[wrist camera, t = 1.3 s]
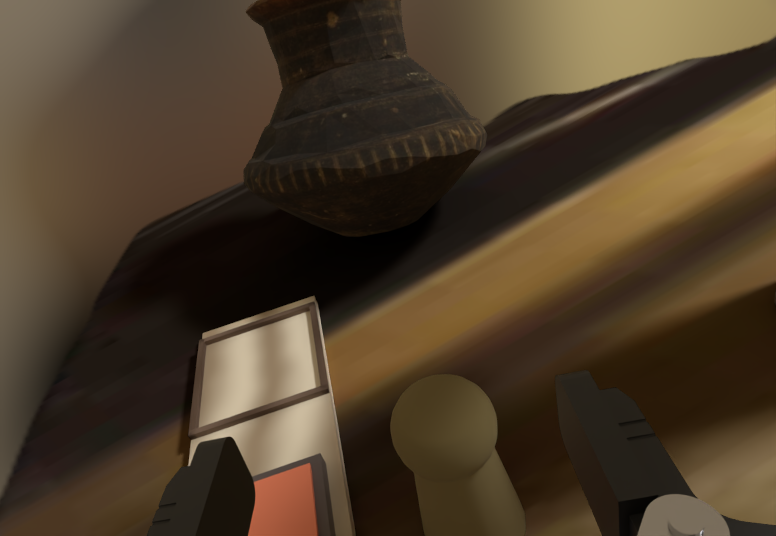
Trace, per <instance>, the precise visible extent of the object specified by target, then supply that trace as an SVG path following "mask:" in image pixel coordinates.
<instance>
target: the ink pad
mask: <svg viewBox="0 0 776 536" xmlns="http://www.w3.org/2000/svg"><path fill="white" fill-rule="evenodd" d="M252 478H253V481H254V485H255V505H254V510H253V515H252V520H251V524H250V529H249V534H248V536H336V534H335V527H334V519H333V512H332V504H331V497H330V489H329V482H328V474H327V467H326V462H325V461H324V459H323V457H322V455H321V453H319V454H316V455H313V456H310V457H307V458H304V459H301V460H299V461H296V462H293V463H290V464H287V465H284V466H281V467H278V468H275V469H272V470H270V471H267V472H264V473H261V474H258V475H255V476H252Z"/></svg>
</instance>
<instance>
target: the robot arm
mask: <svg viewBox="0 0 776 536" xmlns="http://www.w3.org/2000/svg"><path fill="white" fill-rule="evenodd" d="M775 305H776V291H775ZM555 387H556V397H557V408H558V419H559V426H560V431H561V435H562V439H563V442H564V445H565V448H566V451H567V453H568V455H569V458H570V460H571V462H572V465H573V467H574V470H575V472H576V474H577V477H578V479H579V481H580V484H581V486H582V489H583V491H584V493H585V496H586V498H587V500H588V503H589V505H590V508H591V510H592V512H593V515H594V517H595V519H596V522H597V524H598V527H599V529H600V531H601V534H602V536H776V525H768V524H760V523H752V522H744V521H739V520H735V519H731V518H728V517H726V516H723V515H721V514H719V513H718V512H717V511H716V510H715V509H714V508H713V507H711V506H710V505H709V504H707V503H705V502H703V501H701V500H699V499H698V498H697V497H696V496H695V495H694V494H693V492H692V491H691V490H690V488H689V486H688V485H687V483H686V482H685V480H684V479H683V477H682V475H681V474H680V472H679V471H678V469H677V467H676V466H675V464H674V463H673V461H672V460H671V458H670V456H669V455H668V453H667V452H666V450H665V448H664V447H663V445H662V444H661V442H660V441H659V439H658V437H656V436H655V433H654V431H653V429H652V428H651V426H650V425H649V423H648V422H646V418H645V417H644V415H643V414H642V412H641V410H640V409H639V407H638V406H637V404H636V403H635V401H634V400H633V399H631V398H630V397H628V396H627V395H626V394H624V393H623V392H622V391H620V390H619V389H617V388H616V387H615V388H610V389H604V390H599V388H598V386H597V385H596V383H595V381H594V379H593V378H592V376H591V374H590V373H589V371H588V370H583V371H577V372H572V373H567V374H562V375H556V376H555ZM254 505H255V485H254V481H253V478H252V475H251V473H250V471H249V469H248V467H247V465H246V463H245V461H244V459H243V457H242V455H241V452H240V450H239V448H238V446H237V444H236V442H235V440H234V439H233V438H232V437H224V438H218V439H213V440H208V441H203V442H200V443H199V444H198V445H197V448H196V450H195V453H194V456H193V458H192V461H191V464H190V466H186V467H181V468H180V469H179V471H178V472H177V473H176V475H175V476H174V477H173V478H172V480H171V481H170V482H169V483H168V485H167V486H166V488H165V491H164V493H163V496H162V498H161V501H160V503H159V509H158V510H157V511H156V514H155V516H154V519H153V521H152V523H153V525H152V526H150V529H149V531H148V534H147V536H248V534H249V529H250V524H251V520H252V515H253V510H254Z"/></svg>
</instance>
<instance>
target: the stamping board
mask: <svg viewBox="0 0 776 536" xmlns="http://www.w3.org/2000/svg"><path fill="white" fill-rule="evenodd" d="M188 437H189V438H190V439H191V446H190V455H189V465H188V466H190V464H191V461H192V458H193V456H194V453H195V450H196V448H197V445H198V444H199V443H200V442H203V441H208V440H213V439H218V438H224V437H232V438H233V439H234V440H235V442H236V444H237V446H238V448H239V450H240V452H241V455H242V457H243V459H244V461H245V463H246V465H247V467H248V469H249V471H250V473H251V475H252V476H255V475H258V474H261V473H264V472H267V471H270V470H272V469H275V468H278V467H281V466H284V465H287V464H290V463H293V462H296V461H299V460H301V459H304V458H307V457H310V456H313V455H316V454H319V453H321V455H322V457H323V459H324V461H325V462H326V467H327V474H328V482H329V489H330V497H331V504H332V512H333V519H334V527H335V534H336V536H356V533H355V527H354V521H353V514H352V508H351V502H350V496H349V490H348V484H347V478H346V472H345V466H344V460H343V454H342V448H341V442H340V436H339V430H338V424H337V417H336V411H335V405H334V399H333V393H332V387H331V381H330V375H329V369H328V363H327V357H326V351H325V345H324V339H323V333H322V327H321V320H320V314H319V308H318V303H317V301H316V298H315V296H312V297H309V298H306V299H303V300H300V301H297V302H294V303H291V304H288V305H285V306H282V307H279V308H276V309H273V310H270V311H267V312H264V313H261V314H258V315H255V316H252V317H250V318H247V319H244V320H241V321H238V322H235V323H232V324H229V325H226V326H223V327H220V328H217V329H214V330H211V331H208V332H205V333H203V337H202V339H201V340H199V346H198V355H197V364H196V372H195V381H194V390H193V398H192V407H191V416H190V424H189V433H188Z"/></svg>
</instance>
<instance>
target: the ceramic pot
mask: <svg viewBox="0 0 776 536" xmlns="http://www.w3.org/2000/svg"><path fill="white" fill-rule="evenodd" d="M400 1H401V0H258V1H256V2H254V3H253V4H251V5H250V6H249V7H248V9H247V10H246V13H247V14H248V16H249V17H250V18H251V19H252V20H253V21H255V22H256V23H258V24H259V25H261V26H262V27H263V28H264V30H265V33H266V36H267V39H268V41H269V44H270V47H271V49H272V52H273V54H274V57H275V59H276V61H277V64H278V69H279V74H280V79H281V83H282V87H283V89H282V91H281V94H280V97H279V99H278V102H277V105H276V108H275V110H274V113H273V115H272V118H271V121H270V124H269V125H268V126H266V127H265V129H264V131H263V133H262V135H261V137H260V140H259V142H258V145H257V147H256V149H255V152H254V154H253V157H252V159H251V160H250V161H249V162H248V164H247V165H246V167H245V169H244V184H245V185H246V186H247V188H248V189H249V190H250V191H251V192H252V193H254V194H256V195H257V196H259V197H261V198H262V199H264V200H265V201H267V202H269V203H270V204H272V205H274V206H275V207H277V208H279V209H281V210H283V211H285V212H287V213H290V214H292V215H294V216H296V217H298V218H300V219H302V220H304V221H306V222H308V223H310V224H313V225H316V226H318V227H321V228H324V229H326V230H329V231H332V232H335V233H337V234H340V235H343V236H345V237H362V236H367V235H372V234H378V233H383V232H388V231H392V230H395V229H398V228H401V227H404V226H407V225H409V224H411V223H413V222H415V221H417V220H418V219H420V218H421V217H422V216H423V215H424V214H425V213H426V212H427V211H428V210H429V209H430V208H431V207H432V206H433V205H434V204H435V203H436V202H437V201H438V200H439V199H441V198H442V197H443V196H444V195H445V194H446V193H447V192H448V191H449V190H450V189H451V188H452V186H453V185H454V184H455V183H456V182H457V180H458V179H459V178H460V177H461V175H462V174H463V173H464V172H465V170H466V169H467V168H468V167H469V165H470V164H471V163H472V162H473V161H474V159H475V158H476V157H477V156H478V154H479V153H480V152H481V151H482V149H483V148H484V147H485V144H486V138H487V133H486V132H485V130H484V128H483V126H482V124H481V122H480V120H479V119H477V118H475V117H473V116H471V115H470V114H469V113H468V112H467V111H466V110H465V109H464V107H463V106H462V104H461V103H460V101H459V100H458V98H457V97H456V95H455V94H454V92H453V91H452V90H451V89H450V88H449V87H448V86H447V85H445V84H444V83H442V82H440V81H438V80H436V79H435V78H434V77H433V76H432V75H431V74H430V73H429V72H428V71H426V70H425V69H424V68H422V67H421V66H420V65H419V64H417V63H416V62H414V60H412V59H411V58H409V57H408V54H407V49H406V44H405V39H404V33H403V27H402V16H401V2H400Z"/></svg>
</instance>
